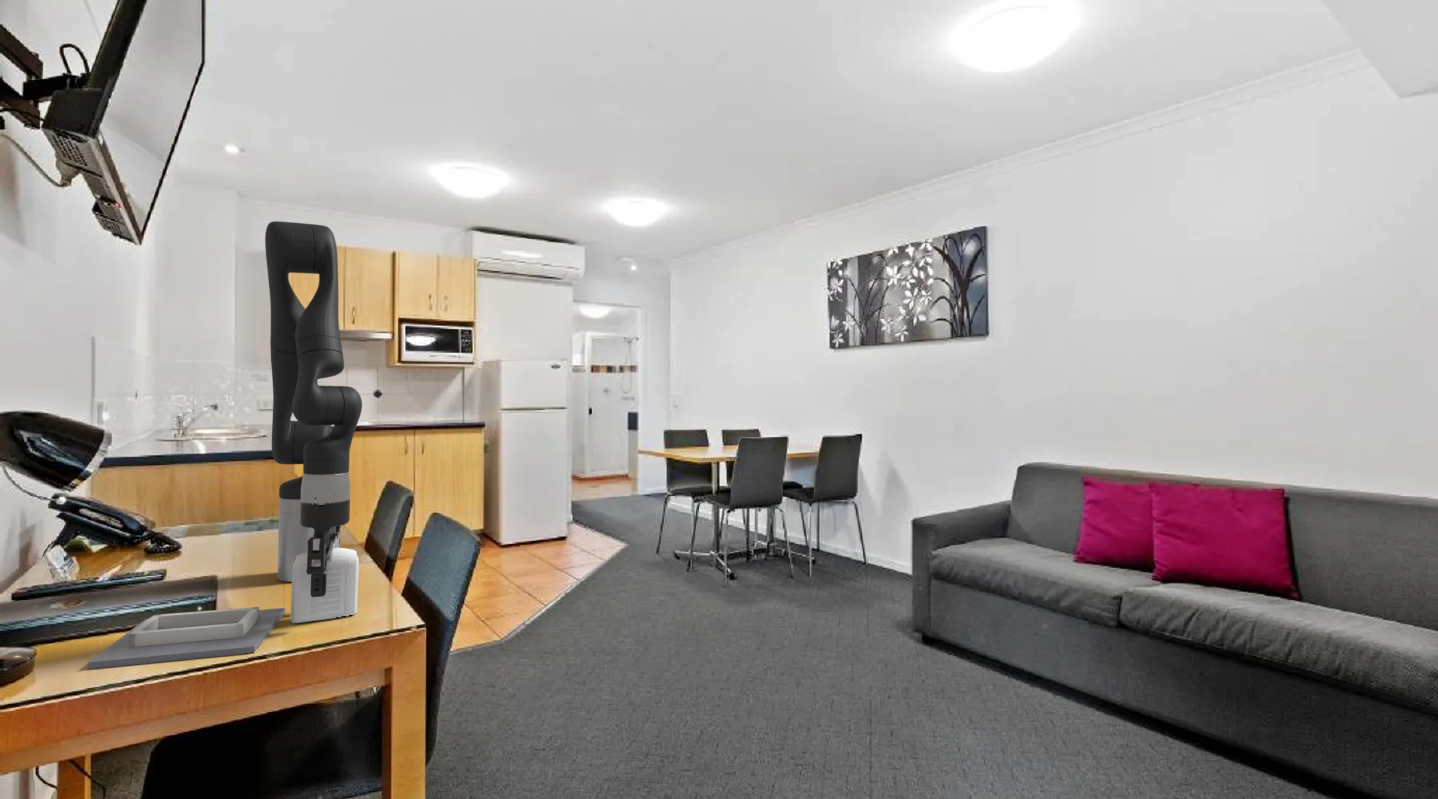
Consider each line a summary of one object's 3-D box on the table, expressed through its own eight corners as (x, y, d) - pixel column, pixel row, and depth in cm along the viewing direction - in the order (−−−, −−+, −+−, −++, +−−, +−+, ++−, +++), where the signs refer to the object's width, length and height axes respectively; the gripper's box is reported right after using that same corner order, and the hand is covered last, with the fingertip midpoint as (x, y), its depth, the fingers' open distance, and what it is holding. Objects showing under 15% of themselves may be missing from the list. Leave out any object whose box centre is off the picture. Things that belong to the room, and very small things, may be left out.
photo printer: (356, 609, 120) (358, 543, 120) (358, 616, 117) (360, 548, 117) (290, 618, 115) (291, 549, 114) (290, 626, 111) (291, 554, 111)
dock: (146, 624, 110) (146, 607, 110) (284, 613, 117) (285, 596, 117) (88, 669, 93) (88, 648, 93) (254, 652, 100) (254, 633, 100)
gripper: (310, 492, 120) (308, 579, 121) (290, 505, 107) (288, 603, 107) (356, 491, 123) (354, 576, 123) (342, 504, 110) (340, 599, 110)
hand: (323, 588), depth 115 cm, fingers open, 8 cm apart
